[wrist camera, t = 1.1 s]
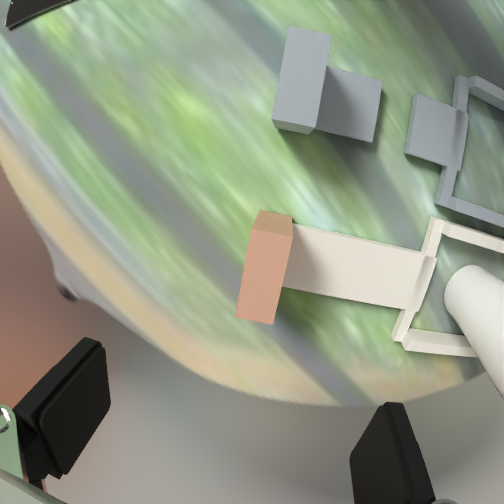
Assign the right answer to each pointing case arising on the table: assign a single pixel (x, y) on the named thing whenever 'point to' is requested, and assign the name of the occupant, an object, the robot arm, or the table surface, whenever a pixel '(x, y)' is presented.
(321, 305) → the table surface
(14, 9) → the smartphone
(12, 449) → the robot arm
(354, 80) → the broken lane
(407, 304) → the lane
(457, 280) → the drinking glass
